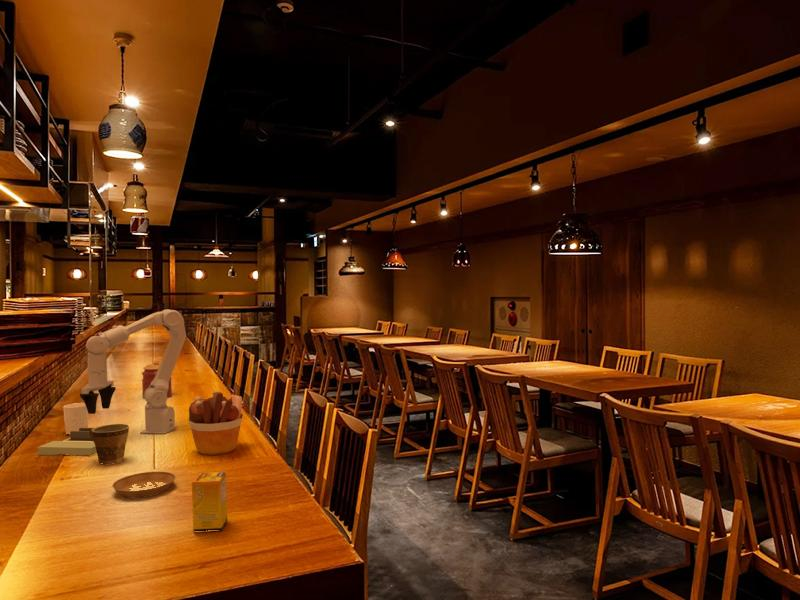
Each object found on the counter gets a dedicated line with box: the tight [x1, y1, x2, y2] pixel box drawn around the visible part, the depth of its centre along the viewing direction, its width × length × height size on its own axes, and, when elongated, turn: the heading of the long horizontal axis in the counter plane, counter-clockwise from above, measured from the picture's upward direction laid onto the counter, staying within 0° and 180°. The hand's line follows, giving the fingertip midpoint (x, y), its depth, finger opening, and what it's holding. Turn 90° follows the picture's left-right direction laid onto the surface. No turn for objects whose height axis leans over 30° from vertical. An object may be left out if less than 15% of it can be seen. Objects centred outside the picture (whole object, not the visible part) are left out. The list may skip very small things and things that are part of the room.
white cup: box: [62, 402, 89, 435], centre depth 203 cm, size 8×8×10 cm
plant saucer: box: [111, 471, 177, 498], centre depth 145 cm, size 15×15×3 cm
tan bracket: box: [37, 437, 97, 456], centre depth 182 cm, size 18×13×3 cm
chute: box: [69, 427, 95, 441], centre depth 186 cm, size 8×5×5 cm, turn 83°
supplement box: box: [191, 471, 228, 532], centre depth 122 cm, size 6×6×11 cm
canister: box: [141, 359, 173, 399], centre depth 267 cm, size 13×13×18 cm
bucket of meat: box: [188, 390, 243, 456], centre depth 178 cm, size 20×16×20 cm
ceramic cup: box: [90, 423, 130, 465], centre depth 169 cm, size 13×10×10 cm
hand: (99, 411), depth 193 cm, fingers open, 7 cm apart
